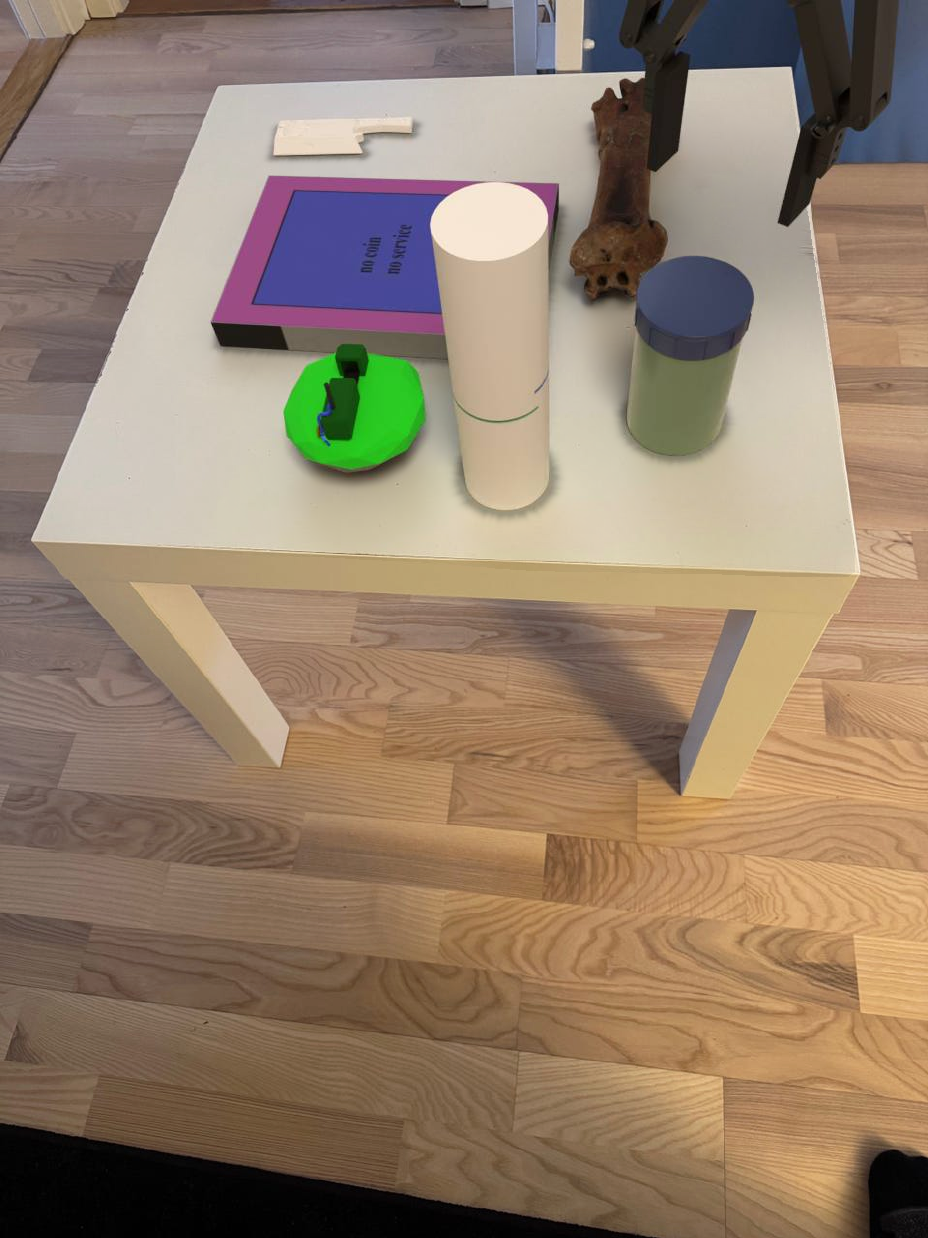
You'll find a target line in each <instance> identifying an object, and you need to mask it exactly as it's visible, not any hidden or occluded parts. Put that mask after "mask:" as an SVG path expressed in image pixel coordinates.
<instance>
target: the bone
mask: <svg viewBox="0 0 928 1238" xmlns="http://www.w3.org/2000/svg"><path fill="white" fill-rule="evenodd" d="M644 79H645V77H641V78H639V79H637V81H632V80H630V79H629V78H621V79H620V80H619V81H618V85H619V91H620V96H621V97H620V98H618V97H617V94H616V93H615V91H614V89H613V88H611V87H606V88H605V89H604V92H603V94H602V96H601V97H600V98H599V99H597V100H595V101H593V103H592V104H591V106H590V111H592V113H593V119H594V127H595V131H596V140H598V141H599V143H598V150H597V155H598V159H599V173H598V178H597V186H596V192H595V198H594V202H593V205H592V210H591V214H590V218H589V222H588V225H587V227H586V228H584V229H583V230H582V232H581V233H580V234H579V236H578V237H577V239H576V240H575V242H574V243H573V245H572V246H571V249H570V252H569V261H568V263H569V265H570V266H571V268H572V269H573V271H574V276H575V277H585V278H586V279H585V282H584V284H583V292H584V293H585V295H586V296H588V297H589V298H590V299H593V300H597V298H598V297H599V296H600V295H601V294H602V292H607V291H608V292H609V291H611V290H612V289H613V288H615V289H618V290H619V291H623V293H624V295H625V296H626V297H628V299H631V298H636V296H637V289H638V286H639V283H640V282H639V277H640V276H641V274H644V273H645V272H646V273H647V272H648V271H650V270H651V269H652V268H653V267H655V266H656V265H658V264H660V263H661V260H662V259H663V257H664V255H665V252H666V250H667V249H666V248H667V245H668V243H669V235H668V230H666V228H665V227H664V226H663V225H662V223H660V222H659V221H658V220H655V219H652V218H651V216H650V211H649V210H650V189H651V179H652V177H651V175H652V173H651V172H652V171H651V170H649V169H647V159H648V148H649V138H650V128H651V118H652V114H650V113H647V112H645V111H644V108H643V103H642V102H643V94H644V93H643V90H644Z"/></svg>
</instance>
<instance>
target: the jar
mask: <svg viewBox="0 0 928 1238" xmlns="http://www.w3.org/2000/svg"><path fill="white" fill-rule="evenodd" d="M742 341H743V339H742V340H741V341H740V342H739V343H738V344H737V345H736V346H735V347H734V348H732V349H731V350H729V351H728V352H726V353H724V354H722V355H719V356H716V357H713V358H709V359H704V360H682V359H677V358H672V357H669V356H666V355H664V354H661V353H659V352H657V351H656V350H654V349H652V348H651V347H650V346H648V345H647V344H646V343H645V342H644V341H643V340H642V338H641V337H640V335H639V334H638V332H637V329H636V328H635V333H634V342H633V351H632V360H631V370H630V382H629V391H628V399H627V400H628V401H627V411H626V424H627V428H628V430H629V432H630V434H631V436H632V438H634V440H635V441H636V442H637V443H638V444H640V445H641V446H642V447H643V448H646V449H647V450H649V451H652V452H654V453H656V454H657V453H658V454H660V455H665V456H676V457H677V456H687V455H691V454H695V453H698V452H700V451H702V450H704V449H705V448H707V447H708V446H709V445H711V444H712V443H713V442H714V441H715V440H716V438H717V437H718V435H719V434H720V432H721V429H722V425H723V421H724V416H725V413H726V409H727V404H728V400H729V395H730V391H731V388H732V384H733V379H734V376H735V371H736V366H737V362H738V359H739V355H740V354H739V353H740V350H741V346H742Z"/></svg>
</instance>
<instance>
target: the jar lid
mask: <svg viewBox="0 0 928 1238" xmlns="http://www.w3.org/2000/svg"><path fill="white" fill-rule="evenodd" d="M638 283H639V286H638V289H637V295H636V296H635V307H634V317H633V319H634V328H635V330H636V329H637V332H638V334H639V335H640V337H641V338H642V340H643V341H644V342H645V343H646V344H647V345H648V346H650V347H651V348H652V349H654V350H656V351H657V352H659V353H661V354H664V355H666V356H669V357H672V358H677V359H682V360H704V359H709V358H713V357H716V356H719V355H722V354H724V353H726V352H728V351H729V350H731V349H732V348H734V347H735V346H736V345H737V344H738V343H739V342H740V341H741V340H742V341H743V339H744V337H745V336H746V334H747V332H748V331H749V328H750V323H751V320H752V316H753V313H752V311H753V306H754V302H755V293H754V289H753V286H752V284H751V282H750V280H749V279H748V277H747V276H746V275H745V274H744V273H743V272H742V271H741V270H740V269H739V268H738V267H736V266H734V265H732V264H730V263H729V262H727V261H724V260H722V259H718V258H715V257H711V256H705V255H684V256H677V257H673V258H670V259H667V260H664V261H663V262H659V263H658V264H657V265H655V266H654V267H653V268H651V269H649V270H648V271H646V273H645V274H644V276H643V277H642V278H641V280H640V282H638Z"/></svg>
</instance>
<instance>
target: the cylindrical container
mask: <svg viewBox="0 0 928 1238" xmlns="http://www.w3.org/2000/svg"><path fill="white" fill-rule="evenodd" d="M503 182H504V181H491V182H486V183H480V184H474V185H471V186H467V187H464V188H462V189H460V190H458V191H455V192H454V193H452V194H451V195H449V196H448V197H446V198H445V199H444V200H443V201H442V202H441V203H440V204H439V205H438V206H437V208H436V209H435V211H434V213H433V215H432V217H431V224H430V227H431V234H432V242H433V249H434V257H435V264H436V271H437V279H438V286H439V294H440V301H441V309H442V316H443V323H444V331H445V338H446V346H447V353H448V359H447V360H448V367H449V374H450V383H451V389H452V390H451V391H452V397H453V403H454V412H455V418H456V425H457V433H458V440H459V447H460V454H461V461H462V467H463V469H462V470H463V476H464V483H465V487H466V489H467V491H468V493H469V494H470V496H471V497H472V499H474V500H475V501H476V502H477V503H479V504H481V505H482V506H484V507H486V508H489V509H492V510H497V511H514V510H518V509H522V508H525V507H528V506H529V505H531V504H533V503H534V502H536V501H537V500H538V499H539V498H540V497H541V496H542V495H543V494H544V493H545V491H546V489H547V488H548V486H549V485H548V484H549V482H550V333H549V332H550V323H549V322H550V320H549V319H550V314H549V313H550V310H549V309H550V307H549V306H550V305H549V301H550V300H549V299H550V297H549V284H550V283H549V272H548V213H547V209H546V207H545V205H544V203H543V201H542V200H541V199H540V198H539V197H538V196H537V195H536V194H534V193H533V192H531V191H530V190H528V189H526V188H524V187H521V186H518V185H514V184H510V183H503Z"/></svg>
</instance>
